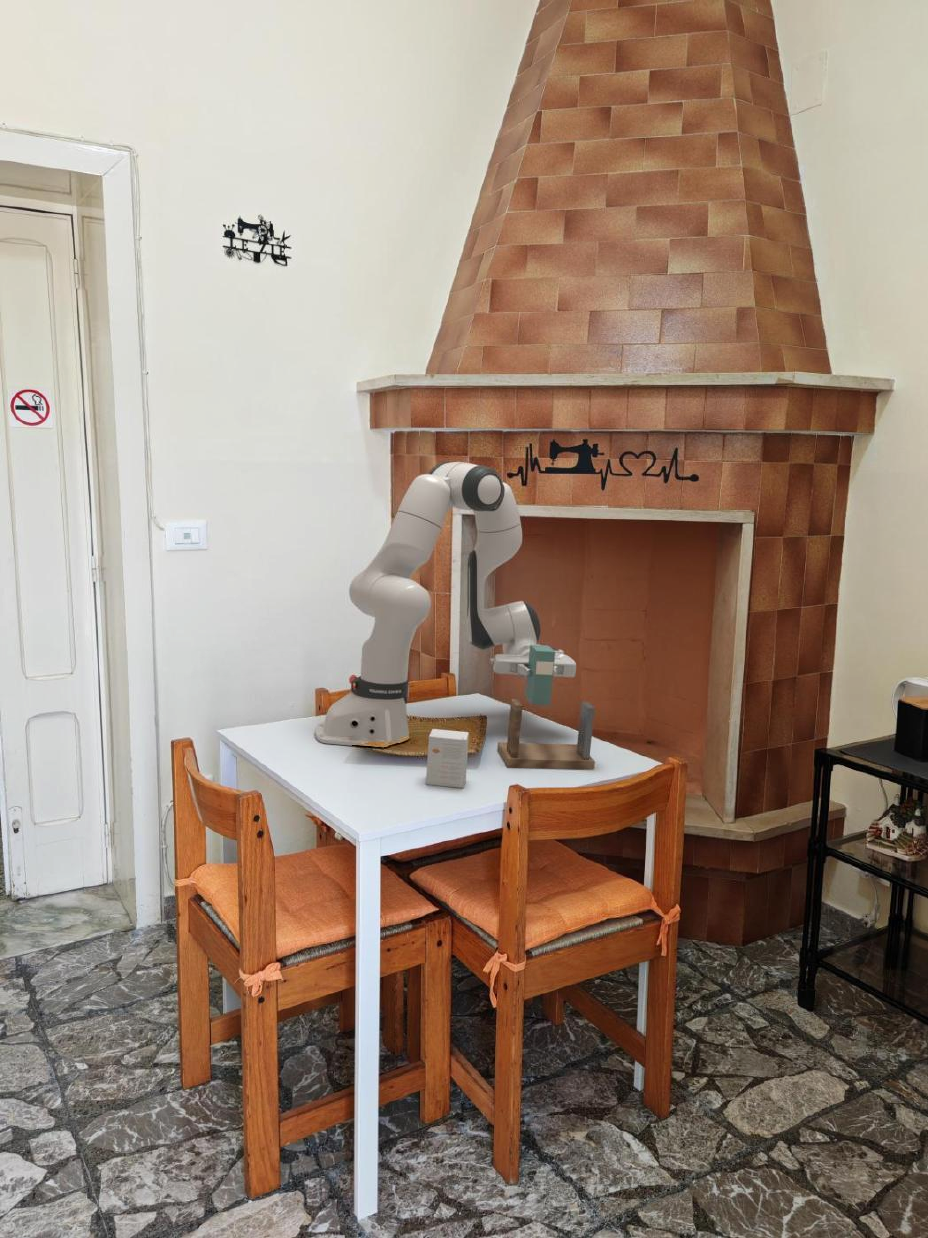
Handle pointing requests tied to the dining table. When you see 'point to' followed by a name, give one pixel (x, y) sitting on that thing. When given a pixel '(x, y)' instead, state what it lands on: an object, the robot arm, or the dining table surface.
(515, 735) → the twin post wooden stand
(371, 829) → the dining table surface
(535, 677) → the book
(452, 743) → the small box
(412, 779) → the dining table surface
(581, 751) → the bookend
